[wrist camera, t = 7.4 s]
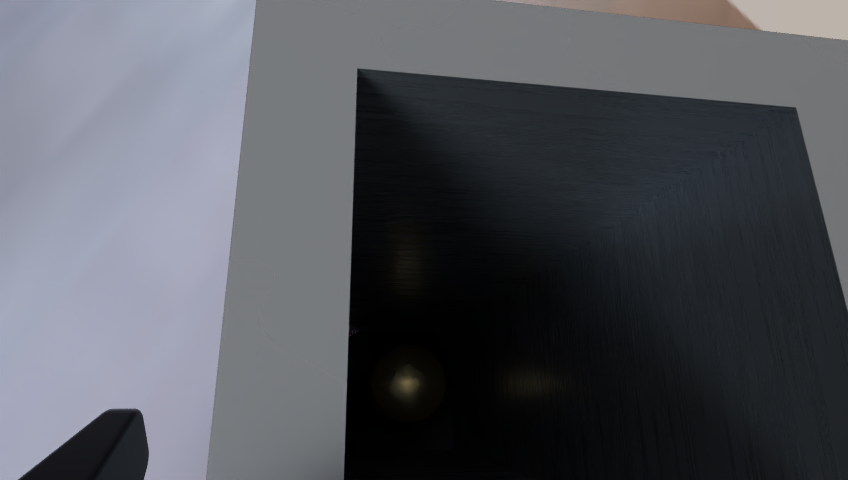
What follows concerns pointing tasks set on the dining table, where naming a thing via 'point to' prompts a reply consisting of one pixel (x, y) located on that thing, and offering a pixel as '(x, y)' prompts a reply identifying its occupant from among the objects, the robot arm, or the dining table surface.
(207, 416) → the dining table surface
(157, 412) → the dining table surface
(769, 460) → the square pipe section
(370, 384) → the disc
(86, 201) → the dining table surface
